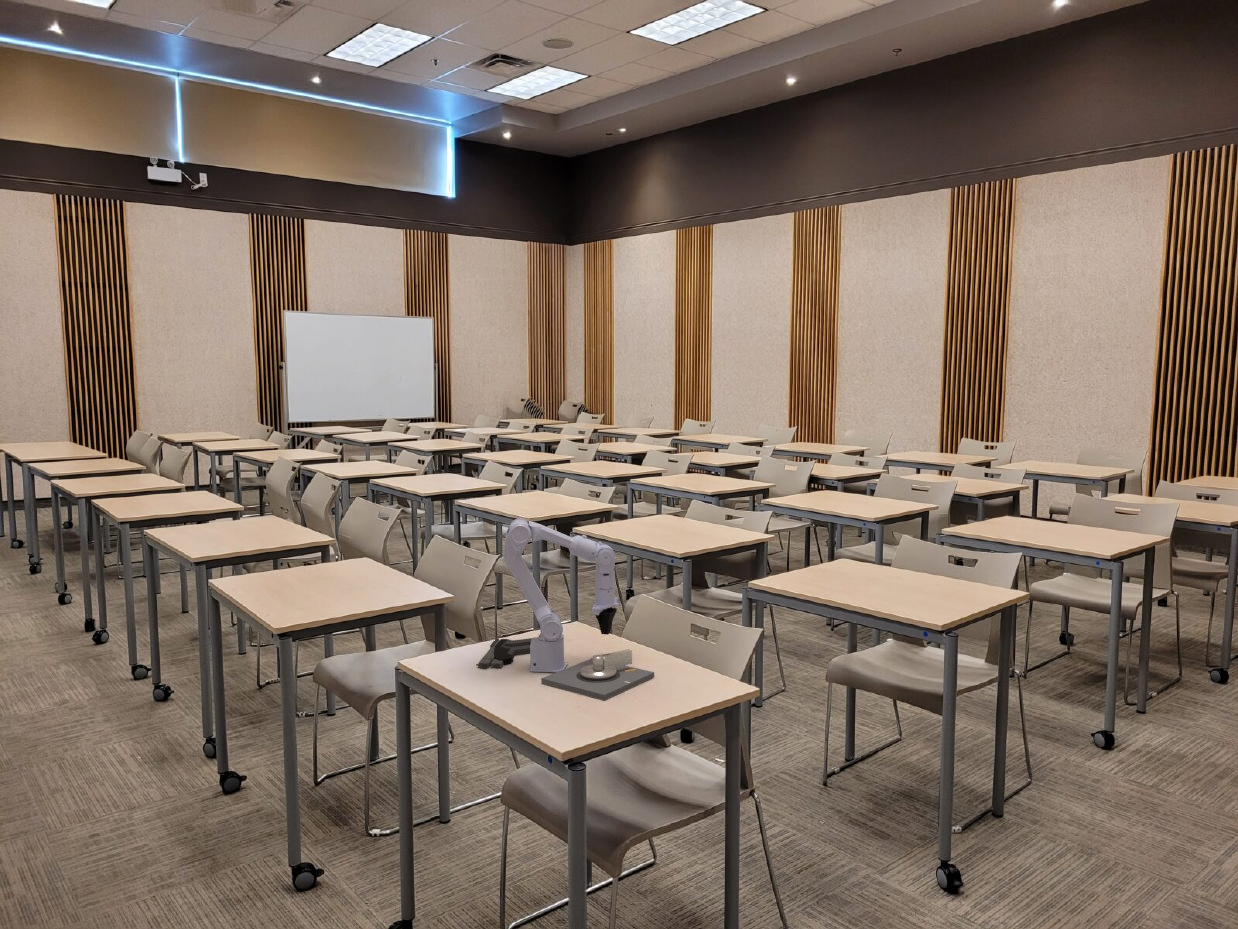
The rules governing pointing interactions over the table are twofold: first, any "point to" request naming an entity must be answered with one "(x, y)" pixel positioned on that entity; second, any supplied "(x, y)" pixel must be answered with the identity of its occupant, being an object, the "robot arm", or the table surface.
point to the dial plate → (597, 681)
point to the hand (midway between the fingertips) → (605, 633)
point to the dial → (606, 665)
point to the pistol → (504, 652)
